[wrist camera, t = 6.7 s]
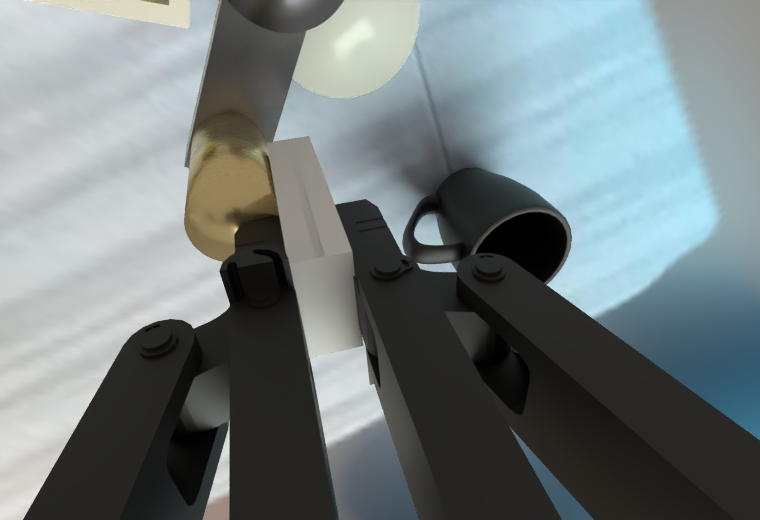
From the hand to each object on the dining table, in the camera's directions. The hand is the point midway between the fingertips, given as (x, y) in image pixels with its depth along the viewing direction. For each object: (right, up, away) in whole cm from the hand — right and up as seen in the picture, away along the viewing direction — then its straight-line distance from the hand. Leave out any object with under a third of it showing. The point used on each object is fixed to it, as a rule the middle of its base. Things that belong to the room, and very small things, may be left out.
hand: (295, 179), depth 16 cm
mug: (+8, +3, +25) cm, 27 cm away
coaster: (0, +13, +15) cm, 20 cm away
